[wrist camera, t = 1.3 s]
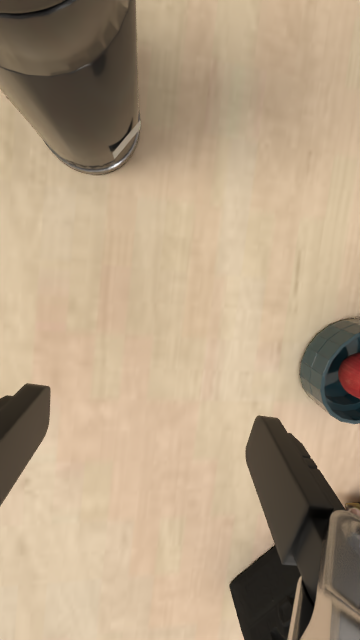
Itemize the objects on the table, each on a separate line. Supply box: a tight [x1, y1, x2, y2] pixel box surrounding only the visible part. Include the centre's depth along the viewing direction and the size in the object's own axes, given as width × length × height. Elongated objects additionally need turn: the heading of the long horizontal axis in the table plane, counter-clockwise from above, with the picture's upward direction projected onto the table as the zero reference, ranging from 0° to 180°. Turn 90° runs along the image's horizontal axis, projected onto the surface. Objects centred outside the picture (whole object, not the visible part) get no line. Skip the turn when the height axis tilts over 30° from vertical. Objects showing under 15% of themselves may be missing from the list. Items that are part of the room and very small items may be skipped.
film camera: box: [229, 545, 301, 640], centre depth 39 cm, size 18×12×10 cm
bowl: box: [300, 319, 360, 424], centre depth 33 cm, size 13×13×4 cm
